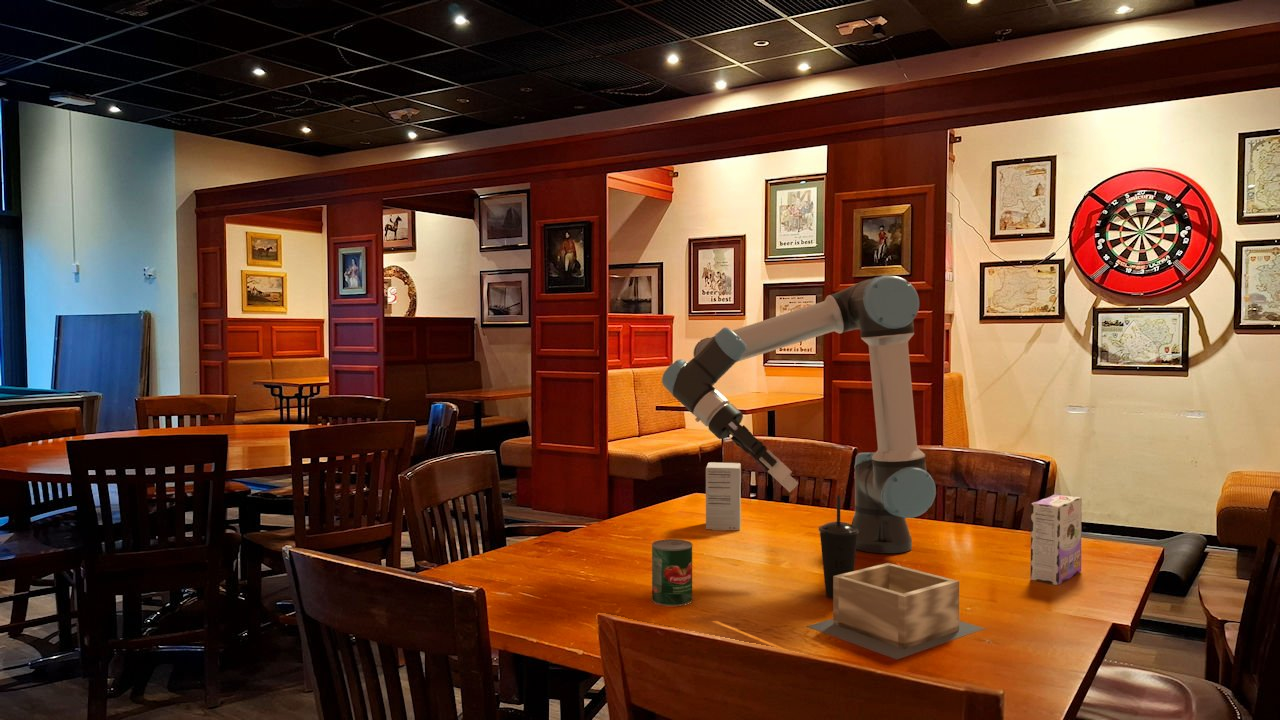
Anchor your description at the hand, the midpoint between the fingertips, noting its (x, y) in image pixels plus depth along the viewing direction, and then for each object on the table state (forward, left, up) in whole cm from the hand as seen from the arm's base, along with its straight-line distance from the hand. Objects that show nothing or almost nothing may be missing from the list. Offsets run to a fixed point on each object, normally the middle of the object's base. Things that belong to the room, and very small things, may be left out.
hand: (790, 482), depth 176 cm
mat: (+7, +32, -21) cm, 38 cm away
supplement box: (-23, -47, -21) cm, 57 cm away
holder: (+7, +32, -20) cm, 38 cm away
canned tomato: (+28, -4, -21) cm, 35 cm away
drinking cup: (+1, +14, -21) cm, 25 cm away
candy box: (-48, +31, -21) cm, 61 cm away
